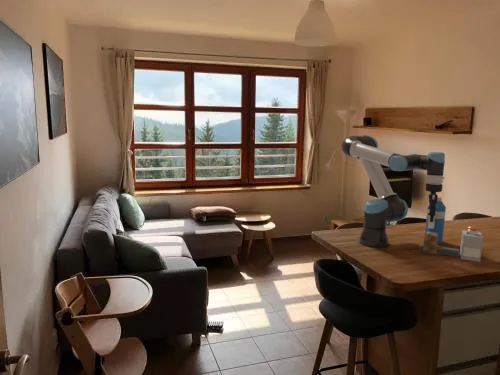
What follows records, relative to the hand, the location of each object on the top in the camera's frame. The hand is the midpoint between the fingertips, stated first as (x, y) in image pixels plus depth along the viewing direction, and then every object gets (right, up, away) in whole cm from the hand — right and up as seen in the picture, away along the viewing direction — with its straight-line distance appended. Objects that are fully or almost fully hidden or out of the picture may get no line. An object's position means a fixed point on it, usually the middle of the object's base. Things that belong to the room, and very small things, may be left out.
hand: (430, 225), depth 202 cm
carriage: (0, -14, +2) cm, 14 cm away
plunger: (+17, -6, -6) cm, 19 cm away
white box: (+17, -15, -5) cm, 23 cm away
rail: (+4, -14, +1) cm, 15 cm away
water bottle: (+11, -11, +21) cm, 26 cm away
